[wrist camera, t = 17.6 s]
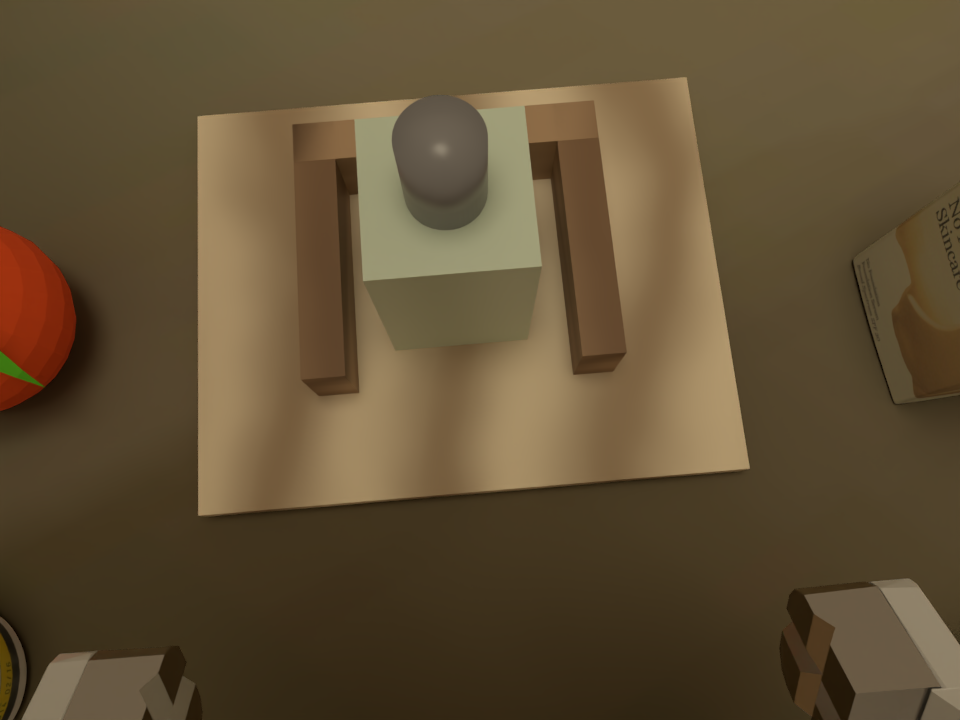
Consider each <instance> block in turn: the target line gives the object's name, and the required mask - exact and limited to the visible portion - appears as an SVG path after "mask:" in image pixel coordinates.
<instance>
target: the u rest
mask: <svg viewBox="0 0 960 720" xmlns="http://www.w3.org/2000/svg"><path fill="white" fill-rule="evenodd" d="M453 97H456V98H459V99H462V100H464V101H466V102H467V103H469V104H470V105H472V106H473V107H474V108H475V109H476V110H478V109H490V108H503V107H515V106H525V115H526V124H527V134H528V143H529V152H530V161H531V170H532V180H533V189H534V198H535V207H536V217H537V226H538V235H539V244H540V253H541V263H542V268H541V273H540V278H539V283H538V288H537V294H536V299H535V304H534V309H533V314H532V319H531V324H530V329H529V334H528V339H527V340H515V341H503V342H491V343H479V344H467V345H455V346H444V347H432V348H420V349H408V350H396V351H395V349H394V347H393V344H392V342H391V340H390V338H389V336H388V334H387V332H386V329H385V327H384V325H383V323H382V321H381V319H380V317H379V314H378V312H377V310H376V308H375V306H374V304H373V302H372V299H371V297H370V295H369V293H368V291H367V289H366V287H365V284H364V282H363V273H362V254H361V235H360V216H359V197H358V178H357V159H356V140H355V121H354V119H366V118H378V117H391V116H399V115H400V114H401V113H402V112H403V111H404V110H405V109H406V108H407V107H408V106H409V105H411V104H412V103H414V102H415V101H417V100H419V99H408V100H395V101H383V102H370V103H358V104H345V105H333V106H320V107H308V108H295V109H282V110H270V111H257V112H245V113H232V114H220V115H207V116H198V516H206V517H210V516H222V515H234V514H245V513H257V512H269V511H280V510H292V509H304V508H315V507H327V506H339V505H351V504H362V503H374V502H386V501H397V500H409V499H421V498H432V497H444V496H456V495H467V494H479V493H491V492H503V491H514V490H526V489H538V488H549V487H561V486H573V485H584V484H596V483H608V482H620V481H631V480H643V479H655V478H666V477H678V476H690V475H701V474H713V473H725V472H736V471H743V470H747V469H750V467H749V461H748V454H747V448H746V442H745V436H744V430H743V424H742V417H741V411H740V405H739V399H738V393H737V387H736V380H735V374H734V368H733V362H732V356H731V350H730V343H729V337H728V331H727V325H726V319H725V313H724V306H723V300H722V294H721V288H720V282H719V276H718V269H717V263H716V257H715V251H714V245H713V238H712V232H711V226H710V220H709V214H708V208H707V201H706V195H705V189H704V183H703V177H702V171H701V164H700V158H699V152H698V146H697V140H696V134H695V127H694V121H693V115H692V109H691V103H690V97H689V90H688V84H687V78H686V77H684V78H672V79H659V80H646V81H634V82H621V83H609V84H596V85H584V86H571V87H559V88H546V89H534V90H521V91H508V92H496V93H483V94H471V95H458V96H453ZM421 99H422V98H421Z"/></svg>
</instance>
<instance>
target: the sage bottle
mask: <svg viewBox="0 0 960 720" xmlns="http://www.w3.org/2000/svg"><path fill="white" fill-rule="evenodd" d="M354 121H355V140H356V159H357V178H358V197H359V216H360V235H361V254H362V273H363V282H364V284H365V287H366V289H367V291H368V293H369V295H370V297H371V299H372V302H373V304H374V306H375V308H376V310H377V312H378V314H379V317H380V319H381V321H382V323H383V325H384V327H385V329H386V332H387V334H388V336H389V338H390V340H391V342H392V344H393V347H394V349H395V351H396V350H408V349H420V348H432V347H444V346H455V345H467V344H479V343H491V342H503V341H515V340H527V339H528V334H529V329H530V324H531V319H532V314H533V309H534V304H535V299H536V294H537V288H538V283H539V278H540V273H541V268H542V263H541V253H540V244H539V235H538V226H537V217H536V207H535V198H534V189H533V180H532V170H531V161H530V152H529V143H528V134H527V124H526V115H525V106H515V107H503V108H490V109H478V110H476V109H475V108H474V107H473V106H472V105H470V104H469V103H467V102H466V101H464V100H462V99H459V98H456V97H453V96H448V95H434V96H428V97H424V98H422V99H419V100H417V101H415V102H414V103H412V104H411V105H409V106H408V107H407V108H406V109H405V110H404V111H403V112H402V113H401V114H400V115H399V116H391V117H378V118H366V119H354Z"/></svg>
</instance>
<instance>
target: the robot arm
mask: <svg viewBox="0 0 960 720" xmlns="http://www.w3.org/2000/svg"><path fill="white" fill-rule="evenodd" d="M787 611H788V613H789V615H790V617H791V619H792V622H791V623H790V624H789V625H788V626H787V627H786V628H785V629H784V630H783V631H782V634H781V641H780V648H779V649H780V658H781V667H782V672H783V675H784V679H785V682H786V685H787V688H788V690H789V692H790V695H791V697H792V700H793V702H794V703H795V704H796V705H797V706H798V707H800V708H801V709H802V710H804V711H805V712H806V713H807V714H809V715H810V716H811V717H812V719H811V720H960V645H959V643H958V642H957V640H956V639H955V637H954V636H953V635H952V633H951V632H950V630H949V629H948V627H947V626H946V625H945V623H944V622H943V620H942V619H941V617H940V616H939V615H938V613H937V612H936V610H935V609H934V607H933V606H932V605H931V603H930V602H929V600H928V599H927V597H926V596H925V595H924V593H923V592H922V590H921V589H920V587H919V586H918V585H917V584H916V583H915V582H913V581H912V580H910V579H909V578H907V579H896V580H885V581H873V582H856V583H846V584H836V585H827V586H817V587H807V588H798V589H794V590H793V591H792V592H791V594H790V595H789V599H788V603H787ZM186 663H187V662H186V660H185V658H184V656H183V653H182V651H181V649H180V647H179V646H164V647H148V648H132V649H116V650H100V651H89V652H76V653H63V654H59V655H58V656H57V657H56V658H55V659H54V660H53V661H52V662H51V663H50V664H49V665H48V667H47V669H46V671H45V673H44V675H43V677H42V679H41V681H40V683H39V685H38V687H37V689H36V691H35V693H34V695H33V697H32V699H31V701H30V703H29V705H28V707H27V709H26V711H25V713H24V715H23V717H22V720H202V714H203V712H202V705H201V698H200V694H199V692H198V689H197V686H196V684H195V683H193V682H192V681H190V680H188V679H187V678H185V677H184V676H183V672H184V669H185V666H186Z"/></svg>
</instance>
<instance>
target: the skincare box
mask: <svg viewBox="0 0 960 720" xmlns="http://www.w3.org/2000/svg"><path fill="white" fill-rule="evenodd" d="M853 263H854V268H855V272H856V276H857V280H858V284H859V288H860V292H861V296H862V300H863V303H864V307H865V310H866V314H867V318H868V322H869V325H870V328H871V332H872V335H873V339H874V342H875V345H876V349H877V352H878V355H879V358H880V361H881V364H882V367H883V371H884V374H885V377H886V380H887V383H888V386H889V389H890V392H891V395H892V398H893V401H894V403H895V404H904V403H911V402H918V401H925V400H932V399H938V398H944V397H951V396H957V395H960V182H959V183H957V184H956V185H954V186H953V187H952V188H950V189H949V190H947V191H946V192H945V193H943V194H942V195H941V196H939V197H938V198H936V199H935V200H934V201H932V202H931V203H929V204H928V205H927V206H925V207H924V208H922V209H921V210H920V211H918V212H917V213H915V214H914V215H913V216H911V217H910V218H908V219H907V220H906V221H904V222H903V223H901V224H900V225H899V226H897V227H896V228H894V229H893V230H892V231H890V232H889V233H887V234H886V235H885V236H883V237H882V238H880V239H879V240H878V241H876V242H875V243H873V244H872V245H871V246H869V247H868V248H867V249H865V250H864V251H862V252H861V253H860V254H858V255H857V256H855V258H854V260H853Z"/></svg>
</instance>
